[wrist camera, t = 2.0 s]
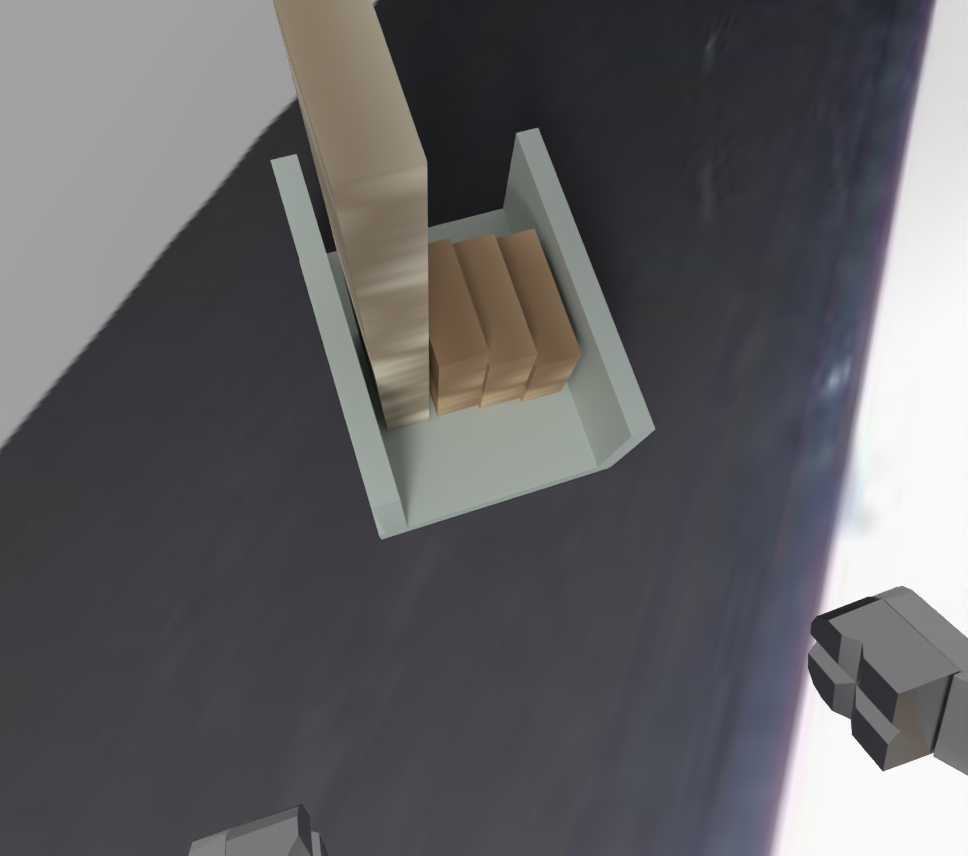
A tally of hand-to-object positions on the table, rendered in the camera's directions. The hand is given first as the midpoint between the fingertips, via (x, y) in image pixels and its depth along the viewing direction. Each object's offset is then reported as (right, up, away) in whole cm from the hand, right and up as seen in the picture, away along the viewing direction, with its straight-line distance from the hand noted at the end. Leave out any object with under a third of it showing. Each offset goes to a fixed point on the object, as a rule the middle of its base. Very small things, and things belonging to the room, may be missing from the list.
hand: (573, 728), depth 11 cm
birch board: (-6, +7, +24) cm, 25 cm away
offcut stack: (-1, +8, +24) cm, 26 cm away
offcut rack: (-3, +7, +25) cm, 27 cm away
